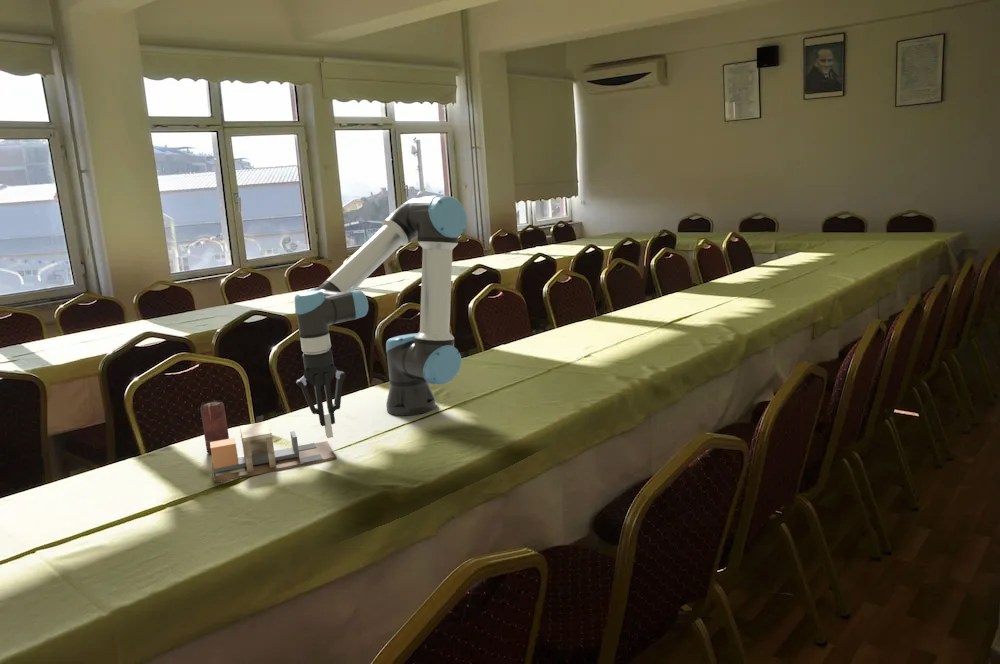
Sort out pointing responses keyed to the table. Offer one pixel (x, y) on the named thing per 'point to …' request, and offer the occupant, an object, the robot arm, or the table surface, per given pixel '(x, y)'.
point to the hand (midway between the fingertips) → (329, 436)
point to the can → (214, 422)
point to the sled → (228, 459)
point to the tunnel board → (272, 453)
